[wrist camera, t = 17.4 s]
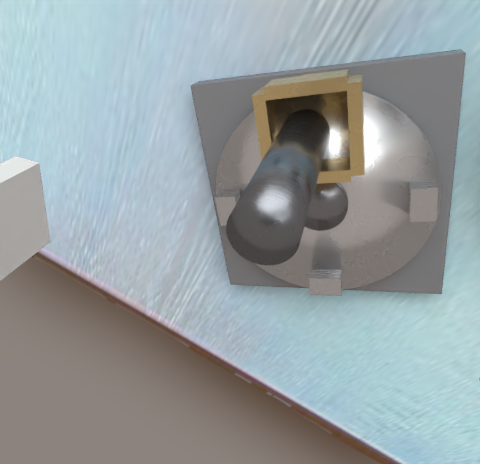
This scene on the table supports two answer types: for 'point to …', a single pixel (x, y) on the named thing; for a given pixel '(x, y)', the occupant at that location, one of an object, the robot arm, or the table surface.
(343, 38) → the table surface
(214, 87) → the nut plate
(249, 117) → the silver disc with box
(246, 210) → the pin
